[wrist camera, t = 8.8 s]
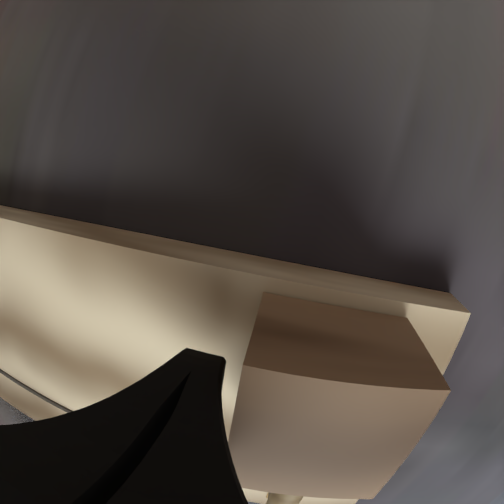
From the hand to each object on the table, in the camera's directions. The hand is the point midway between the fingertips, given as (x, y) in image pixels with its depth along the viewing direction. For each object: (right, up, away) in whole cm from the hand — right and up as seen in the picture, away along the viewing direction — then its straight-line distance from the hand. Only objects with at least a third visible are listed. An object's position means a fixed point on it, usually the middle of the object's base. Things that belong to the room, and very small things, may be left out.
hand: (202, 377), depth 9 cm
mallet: (+4, -3, +2) cm, 5 cm away
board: (-7, -1, +5) cm, 9 cm away
